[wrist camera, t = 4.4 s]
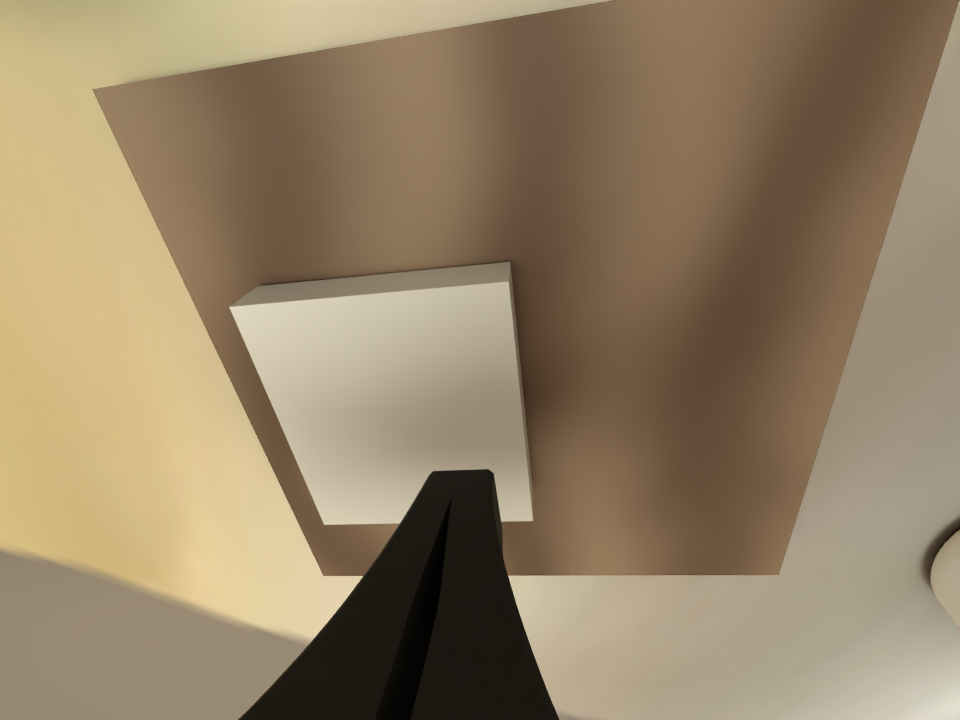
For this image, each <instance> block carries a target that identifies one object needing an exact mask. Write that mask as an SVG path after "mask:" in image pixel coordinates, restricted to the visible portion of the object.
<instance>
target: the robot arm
mask: <svg viewBox="0 0 960 720" xmlns="http://www.w3.org/2000/svg"><path fill="white" fill-rule="evenodd" d="M238 720H559V718H558V716H557V713H556V711H555V708H554V706H553V704H552V701H551V699H550V696H549V694H548V691H547V689H546V686H545V684H544V681H543V678H542V676H541V673H540V670H539V668H538V665H537V663H536V660H535V657H534V655H533V652H532V649H531V646H530V643H529V640H528V638H527V635H526V632H525V629H524V626H523V623H522V620H521V617H520V614H519V611H518V608H517V605H516V602H515V598H514V595H513V591H512V588H511V585H510V581H509V578H508V574H507V570H506V567H505V563H504V559H503V533H502V524H501V517H500V511H499V504H498V498H497V491H496V485H495V478H494V473H493V472H491V471H490V470H489V469H477V470H448V471H433V472H432V473H431V474H430V475H429V476H428V478H427V479H426V481H425V483H424V485H423V486H422V488H421V490H420V491H419V493H418V495H417V497H416V498H415V500H414V502H413V503H412V505H411V506H410V508H409V510H408V511H407V513H406V515H405V516H404V518H403V519H402V521H401V522H400V524H399V526H398V527H397V529H396V530H395V532H394V533H393V535H392V536H391V538H390V539H389V541H388V542H387V544H386V545H385V547H384V548H383V550H382V551H381V553H380V554H379V555H378V557H377V558H376V560H375V561H374V563H373V564H372V565H371V567H370V568H369V569H368V571H367V572H366V573H365V575H364V576H363V578H362V579H361V580H360V582H359V583H358V584H357V586H356V587H355V588H354V590H353V591H352V592H351V594H350V595H349V596H348V598H347V599H346V600H345V602H344V603H343V604H342V605H341V607H340V608H339V609H338V610H337V612H336V613H335V614H334V615H333V617H332V618H331V619H330V620H329V622H328V623H327V624H326V625H325V626H324V628H323V629H322V630H321V631H320V632H319V633H318V635H317V636H316V637H315V638H314V639H313V640H312V642H311V643H310V644H309V645H308V646H307V647H306V649H305V650H304V651H303V652H302V653H301V654H300V655H299V656H298V658H297V659H296V660H295V661H294V662H293V663H292V664H291V665H290V666H289V667H288V668H287V670H286V671H285V672H284V673H283V674H282V675H281V676H280V677H279V678H278V679H277V681H276V682H275V683H274V684H273V685H272V686H271V687H270V688H269V689H268V690H267V691H266V692H265V693H264V694H263V695H262V696H261V698H259V699H258V701H257V702H256V703H255V704H254V705H253V706H252V707H251V708H250V709H249V710H248V711H247V712H246V713H245V714H244V715H243V716H242V717H241V718H239V719H238Z"/></svg>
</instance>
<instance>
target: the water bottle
mask: <svg viewBox="0 0 960 720" xmlns="http://www.w3.org/2000/svg"><path fill="white" fill-rule="evenodd" d="M931 586H932V589H933V592H934V595H935V596H936V598H937V600H938V601H939V603H940V604H941V605H942V607H943V608H944V610H945V611H946V612H947V613H948V615H949V616H950V617H951V618H952V620H953V621H954V622H955V623H956V625H957V626H958V627H959V628H960V530H958V531H957V532H956V533H955V534H954V535H953V536H951V537H950V538H949V539H948V540H947V541H946V543H945V544H944V545H943V546H942V548H941V549H940V551H939V552H938V554H937V556H936V558H935V560H934V562H933V565H932V569H931Z"/></svg>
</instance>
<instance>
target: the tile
mask: <svg viewBox="0 0 960 720" xmlns="http://www.w3.org/2000/svg"><path fill="white" fill-rule="evenodd" d="M229 308H230V310H231V312H232V315H233V317H234V319H235V321H236V324H237V326H238V328H239V331H240V333H241V335H242V337H243V340H244V342H245V344H246V347H247V349H248V351H249V354H250V356H251V358H252V360H253V363H254V365H255V367H256V370H257V372H258V374H259V376H260V379H261V381H262V383H263V386H264V388H265V390H266V393H267V395H268V397H269V399H270V402H271V404H272V406H273V409H274V411H275V413H276V415H277V418H278V420H279V422H280V425H281V427H282V429H283V432H284V434H285V436H286V438H287V441H288V443H289V445H290V448H291V450H292V452H293V454H294V457H295V459H296V461H297V464H298V466H299V468H300V471H301V473H302V475H303V477H304V480H305V482H306V484H307V487H308V489H309V491H310V493H311V496H312V498H313V500H314V503H315V505H316V507H317V510H318V512H319V514H320V516H321V519H322V521H323V523H324V525H343V524H398V523H400V522H401V521H402V519H403V518H404V516H405V515H406V513H407V511H408V510H409V508H410V506H411V505H412V503H413V502H414V500H415V498H416V497H417V495H418V493H419V491H420V490H421V488H422V486H423V485H424V483H425V481H426V479H427V478H428V476H429V475H430V474H431V473H432V472H433V471H448V470H477V469H489V470H490V471H491V472H493V473H494V478H495V485H496V491H497V498H498V504H499V511H500V517H501V522H507V521H533V488H532V478H531V467H530V457H529V447H528V437H527V426H526V416H525V406H524V396H523V386H522V375H521V365H520V355H519V345H518V334H517V324H516V314H515V304H514V294H513V283H512V273H511V263H510V262H502V263H492V264H482V265H471V266H461V267H451V268H441V269H430V270H420V271H410V272H399V273H389V274H379V275H368V276H358V277H348V278H337V279H327V280H317V281H306V282H296V283H286V284H275V285H265V286H257V287H256V288H254V289H253V290H252V291H250V292H249V293H248V294H246V295H245V296H243V297H242V298H241V299H239V300H238V301H237V302H235V303H234V304H233V305H231V306H230V307H229Z"/></svg>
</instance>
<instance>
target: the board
mask: <svg viewBox="0 0 960 720" xmlns="http://www.w3.org/2000/svg"><path fill="white" fill-rule="evenodd" d="M958 2H959V0H614V1H608V2H602V3H596V4H590V5H584V6H579V7H573V8H567V9H561V10H555V11H549V12H543V13H537V14H532V15H526V16H520V17H514V18H508V19H502V20H496V21H491V22H485V23H479V24H473V25H467V26H461V27H455V28H450V29H444V30H438V31H432V32H426V33H420V34H414V35H408V36H403V37H397V38H391V39H385V40H379V41H373V42H367V43H362V44H356V45H350V46H344V47H338V48H332V49H326V50H320V51H315V52H309V53H303V54H297V55H291V56H285V57H279V58H274V59H268V60H262V61H256V62H250V63H244V64H238V65H233V66H227V67H221V68H215V69H209V70H203V71H197V72H191V73H186V74H180V75H174V76H168V77H162V78H156V79H150V80H145V81H139V82H133V83H127V84H121V85H115V86H109V87H103V88H98V89H92V90H93V92H94V94H95V96H96V98H97V100H98V103H99V105H100V107H101V109H102V111H103V113H104V115H105V117H106V119H107V121H108V124H109V126H110V128H111V130H112V132H113V134H114V136H115V138H116V140H117V142H118V145H119V147H120V149H121V151H122V153H123V155H124V157H125V159H126V161H127V164H128V166H129V168H130V170H131V172H132V174H133V176H134V178H135V180H136V182H137V185H138V187H139V189H140V191H141V193H142V195H143V197H144V199H145V201H146V203H147V206H148V208H149V210H150V212H151V214H152V216H153V218H154V220H155V222H156V225H157V227H158V229H159V231H160V233H161V235H162V237H163V239H164V241H165V243H166V246H167V248H168V250H169V252H170V254H171V256H172V258H173V260H174V262H175V264H176V267H177V269H178V271H179V273H180V275H181V277H182V279H183V281H184V283H185V286H186V288H187V290H188V292H189V294H190V296H191V298H192V300H193V302H194V304H195V307H196V309H197V311H198V313H199V315H200V317H201V319H202V321H203V323H204V325H205V328H206V330H207V332H208V334H209V336H210V338H211V340H212V342H213V344H214V347H215V349H216V351H217V353H218V355H219V357H220V359H221V361H222V363H223V365H224V368H225V370H226V372H227V374H228V376H229V378H230V380H231V382H232V384H233V386H234V389H235V391H236V393H237V395H238V397H239V399H240V401H241V403H242V405H243V407H244V410H245V412H246V414H247V416H248V418H249V420H250V422H251V424H252V426H253V429H254V431H255V433H256V435H257V437H258V439H259V441H260V443H261V445H262V447H263V450H264V452H265V454H266V456H267V458H268V460H269V462H270V464H271V466H272V468H273V471H274V473H275V475H276V477H277V479H278V481H279V483H280V485H281V487H282V490H283V492H284V494H285V496H286V498H287V500H288V502H289V504H290V506H291V508H292V511H293V513H294V515H295V517H296V519H297V521H298V523H299V525H300V527H301V529H302V532H303V534H304V536H305V538H306V540H307V542H308V544H309V546H310V548H311V551H312V553H313V555H314V557H315V559H316V561H317V563H318V565H319V567H320V569H321V572H322V574H323V576H364V575H365V573H366V572H367V571H368V569H369V568H370V567H371V565H372V564H373V563H374V561H375V560H376V558H377V557H378V555H379V554H380V553H381V551H382V550H383V548H384V547H385V545H386V544H387V542H388V541H389V539H390V538H391V536H392V535H393V533H394V532H395V530H396V529H397V527H398V526H399V524H400V523H398V524H343V525H324V523H323V521H322V519H321V516H320V514H319V512H318V510H317V507H316V505H315V503H314V500H313V498H312V496H311V493H310V491H309V489H308V487H307V484H306V482H305V480H304V477H303V475H302V473H301V471H300V468H299V466H298V464H297V461H296V459H295V457H294V454H293V452H292V450H291V448H290V445H289V443H288V441H287V438H286V436H285V434H284V432H283V429H282V427H281V425H280V422H279V420H278V418H277V415H276V413H275V411H274V409H273V406H272V404H271V402H270V399H269V397H268V395H267V393H266V390H265V388H264V386H263V383H262V381H261V379H260V376H259V374H258V372H257V370H256V367H255V365H254V363H253V360H252V358H251V356H250V354H249V351H248V349H247V347H246V344H245V342H244V340H243V337H242V335H241V333H240V331H239V328H238V326H237V324H236V321H235V319H234V317H233V315H232V312H231V310H230V308H229V307H230V306H231V305H233V304H234V303H235V302H237V301H238V300H239V299H241V298H242V297H243V296H245V295H246V294H248V293H249V292H250V291H252V290H253V289H254V288H256V287H257V286H265V285H275V284H286V283H296V282H306V281H317V280H327V279H337V278H348V277H358V276H368V275H379V274H389V273H399V272H410V271H420V270H430V269H441V268H451V267H461V266H471V265H482V264H492V263H502V262H510V263H511V273H512V283H513V294H514V304H515V314H516V324H517V334H518V345H519V355H520V365H521V375H522V386H523V396H524V406H525V416H526V426H527V437H528V447H529V457H530V467H531V478H532V488H533V521H507V522H501V524H502V533H503V559H504V563H505V567H506V570H507V574H508V575H779V572H780V569H781V566H782V563H783V560H784V556H785V553H786V550H787V547H788V544H789V540H790V537H791V534H792V531H793V528H794V524H795V521H796V518H797V515H798V512H799V509H800V505H801V502H802V499H803V496H804V493H805V489H806V486H807V483H808V480H809V477H810V474H811V470H812V467H813V464H814V461H815V458H816V454H817V451H818V448H819V445H820V442H821V438H822V435H823V432H824V429H825V426H826V423H827V419H828V416H829V413H830V410H831V407H832V403H833V400H834V397H835V394H836V391H837V387H838V384H839V381H840V378H841V375H842V372H843V368H844V365H845V362H846V359H847V356H848V352H849V349H850V346H851V343H852V340H853V337H854V333H855V330H856V327H857V324H858V321H859V317H860V314H861V311H862V308H863V305H864V301H865V298H866V295H867V292H868V289H869V286H870V282H871V279H872V276H873V273H874V270H875V266H876V263H877V260H878V257H879V254H880V250H881V247H882V244H883V241H884V238H885V235H886V231H887V228H888V225H889V222H890V219H891V215H892V212H893V209H894V206H895V203H896V200H897V196H898V193H899V190H900V187H901V184H902V180H903V177H904V174H905V171H906V168H907V164H908V161H909V158H910V155H911V152H912V149H913V145H914V142H915V139H916V136H917V133H918V129H919V126H920V123H921V120H922V117H923V113H924V110H925V107H926V104H927V101H928V98H929V94H930V91H931V88H932V85H933V82H934V78H935V75H936V72H937V69H938V66H939V62H940V59H941V56H942V53H943V50H944V47H945V43H946V40H947V37H948V34H949V31H950V27H951V24H952V21H953V18H954V15H955V12H956V8H957V5H958Z"/></svg>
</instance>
